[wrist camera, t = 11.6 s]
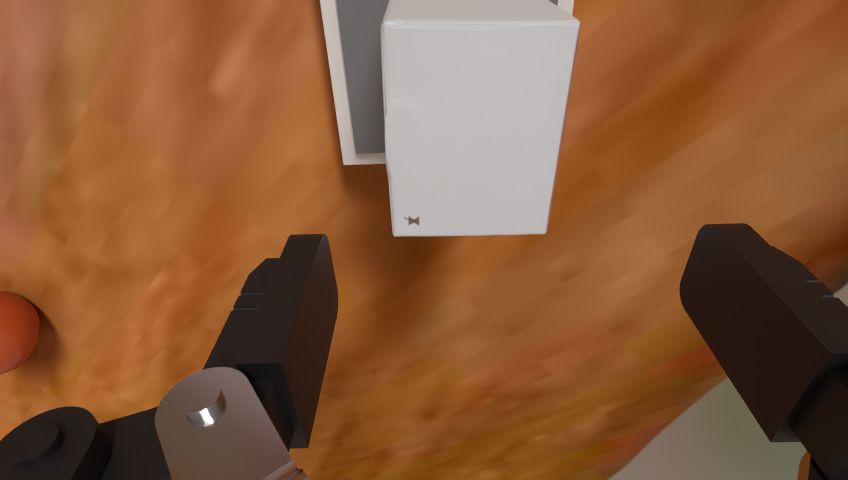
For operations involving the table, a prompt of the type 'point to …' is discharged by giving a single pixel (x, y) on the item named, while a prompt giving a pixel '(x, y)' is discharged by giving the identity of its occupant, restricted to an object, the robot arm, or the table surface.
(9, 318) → the tomato
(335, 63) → the stack base
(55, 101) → the table surface
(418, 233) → the small box
